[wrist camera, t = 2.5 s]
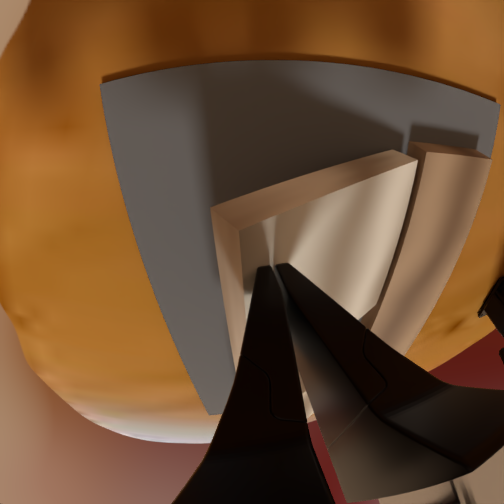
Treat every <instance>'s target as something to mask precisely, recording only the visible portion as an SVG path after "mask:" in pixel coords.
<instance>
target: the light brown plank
mask: <svg viewBox="0 0 504 504" xmlns="http://www.w3.org/2000/svg"><path fill="white" fill-rule="evenodd" d="M407 155H408V156H410V157H412V158H415V159H417V160H418V163H417V168H416V172H415V177H414V182H413V186H412V190H411V195H410V199H409V203H408V207H407V211H406V215H405V218H404V222H403V226H402V229H401V233H400V236H399V239H398V243H397V246H396V249H395V252H394V256H393V259H392V262H391V265H390V268H389V271H388V274H387V277H386V279H385V282H384V285H383V288H382V290H381V293H380V296H379V299H378V301H377V304H376V305H375V306H374V307H373V308H372V309H370V310H369V311H368V312H367V313H366V314H365V315H363V317H362V320H361V323H362V324H363V325H365V326H366V329H367V328H368V329H370V330H371V331H372V332H373V333H374V334H376V335H377V336H378V337H379V338H380V339H382V340H383V341H384V342H385V343H387V344H388V345H389V346H391V347H392V348H393V349H395V350H396V351H398V352H399V353H400V354H402V355H403V356H404V355H405V354H406V352H407V351H408V349H409V348H410V346H411V345H412V343H413V341H414V340H415V338H416V337H417V335H418V333H419V332H420V330H421V329H422V327H423V325H424V323H425V322H426V320H427V318H428V317H429V315H430V313H431V311H432V310H433V308H434V306H435V304H436V302H437V300H438V299H439V297H440V295H441V293H442V291H443V289H444V287H445V285H446V283H447V281H448V279H449V277H450V275H451V273H452V271H453V269H454V266H455V264H456V262H457V260H458V258H459V255H460V253H461V251H462V248H463V246H464V244H465V241H466V239H467V236H468V234H469V231H470V229H471V226H472V223H473V221H474V218H475V215H476V212H477V209H478V207H479V204H480V201H481V197H482V194H483V191H484V188H485V184H486V181H487V178H488V174H489V170H490V167H491V163H492V159H490V158H489V157H487V156H486V155H484V154H482V153H481V152H479V151H478V150H475V149H469V148H463V147H456V146H448V145H440V144H432V143H422V142H411V141H409V144H408V150H407Z"/></svg>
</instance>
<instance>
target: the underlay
mask: <svg viewBox="0 0 504 504" xmlns="http://www.w3.org/2000/svg"><path fill="white" fill-rule="evenodd" d="M100 90H101V96H102V103H103V108H104V114H105V120H106V125H107V130H108V135H109V140H110V145H111V149H112V154H113V158H114V162H115V167H116V171H117V175H118V179H119V183H120V187H121V190H122V194H123V198H124V202H125V205H126V209H127V212H128V216H129V219H130V222H131V226H132V229H133V232H134V235H135V239H136V242H137V245H138V248H139V251H140V254H141V257H142V260H143V263H144V266H145V269H146V272H147V274H148V277H149V280H150V283H151V285H152V288H153V291H154V294H155V296H156V299H157V301H158V304H159V307H160V309H161V312H162V314H163V317H164V319H165V322H166V324H167V327H168V329H169V331H170V334H171V336H172V338H173V341H174V343H175V345H176V348H177V350H178V352H179V354H180V357H181V359H182V361H183V363H184V365H185V368H186V370H187V372H188V374H189V376H190V378H191V380H192V382H193V384H194V387H195V389H196V391H197V393H198V395H199V397H200V399H201V401H202V403H203V404H204V406H205V408H206V410H207V412H208V414H209V415H217V414H222V413H223V411H224V408H225V406H226V403H227V400H228V397H229V394H230V391H231V388H232V385H233V382H234V378H235V374H236V371H235V365H234V360H233V354H232V348H231V343H230V337H229V331H228V325H227V319H226V313H225V307H224V301H223V294H222V288H221V281H220V275H219V268H218V261H217V254H216V247H215V240H214V233H213V226H212V218H211V211H210V207H213V206H216V205H218V204H221V203H224V202H226V201H229V200H232V199H235V198H238V197H240V196H243V195H246V194H249V193H252V192H255V191H258V190H260V189H263V188H266V187H269V186H272V185H275V184H278V183H281V182H284V181H287V180H290V179H294V178H297V177H300V176H303V175H306V174H309V173H312V172H316V171H319V170H322V169H325V168H329V167H332V166H335V165H339V164H342V163H346V162H349V161H352V160H356V159H359V158H363V157H367V156H370V155H374V154H377V153H381V152H385V151H389V150H392V149H393V150H395V151H398V152H400V153H403V154H405V155H407V150H408V144H409V141H411V142H422V143H432V144H440V145H448V146H456V147H463V148H469V149H475V150H478V151H479V152H481V153H482V154H484V155H486V156H487V157H489V158H491V153H492V149H493V145H494V140H495V135H496V130H497V124H498V118H499V111H500V104H498V103H495V102H493V101H490V100H488V99H485V98H483V97H480V96H478V95H475V94H472V93H469V92H467V91H464V90H461V89H458V88H455V87H451V86H448V85H445V84H442V83H438V82H435V81H431V80H427V79H423V78H419V77H415V76H411V75H407V74H402V73H397V72H392V71H387V70H382V69H376V68H370V67H363V66H356V65H348V64H339V63H329V62H317V61H298V60H248V61H230V62H217V63H207V64H198V65H190V66H182V67H176V68H170V69H164V70H158V71H153V72H148V73H143V74H138V75H134V76H129V77H125V78H121V79H117V80H113V81H110V82H106V83H102V84H100ZM362 317H363V316H362ZM362 317H361V318H360V319H359V321H360V322H361V320H362Z"/></svg>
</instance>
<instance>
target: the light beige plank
mask: <svg viewBox="0 0 504 504" xmlns="http://www.w3.org/2000/svg"><path fill="white" fill-rule="evenodd" d="M417 163H418V160H417V159H415V158H412V157H410V156H408V155H405V154H403V153H400V152H398V151H395V150H393V149H392V150H389V151H385V152H381V153H377V154H374V155H370V156H367V157H363V158H359V159H356V160H352V161H349V162H346V163H342V164H339V165H335V166H332V167H329V168H325V169H322V170H319V171H316V172H312V173H309V174H306V175H303V176H300V177H297V178H294V179H290V180H287V181H284V182H281V183H278V184H275V185H272V186H269V187H266V188H263V189H260V190H258V191H255V192H252V193H249V194H246V195H243V196H240V197H238V198H235V199H232V200H229V201H226V202H224V203H221V204H218V205H216V206H213V207H210V211H211V218H212V226H213V233H214V240H215V247H216V254H217V261H218V268H219V275H220V281H221V288H222V294H223V301H224V307H225V313H226V319H227V325H228V331H229V337H230V343H231V348H232V354H233V360H234V365H235V371H236V370H237V366H238V361H239V356H240V352H241V347H242V342H243V337H244V332H245V327H246V322H247V317H248V312H249V307H250V302H251V297H252V292H253V287H254V281H255V276H256V271H257V268H258V267H260V266H266V265H270V266H271V267H272V269H273V271H274V267H275V265H276V264H280V263H290V264H291V265H292V266H293V267H295V268H296V269H297V270H298V271H299V272H301V273H302V274H303V275H304V276H306V277H307V278H308V279H309V280H310V281H312V282H313V283H314V284H315V285H316V286H318V287H319V288H320V289H321V290H323V291H324V292H325V293H326V294H327V295H329V296H330V297H331V298H332V299H333V300H335V301H336V302H337V303H338V304H339V305H341V306H342V307H343V308H344V309H345V310H347V311H348V312H349V313H350V314H351V315H353V316H354V317H355V318H356V319H357V320H359V319H360V318H361V317H362V316H363V315H365V314H366V313H367V312H368V311H369V310H370V309H372V308H373V307H374V306H375V305H376V304H377V301H378V299H379V296H380V293H381V290H382V288H383V285H384V282H385V279H386V277H387V274H388V271H389V268H390V265H391V262H392V259H393V256H394V252H395V249H396V246H397V243H398V239H399V236H400V233H401V229H402V226H403V222H404V218H405V215H406V211H407V207H408V203H409V199H410V195H411V190H412V186H413V182H414V177H415V172H416V168H417Z"/></svg>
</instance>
